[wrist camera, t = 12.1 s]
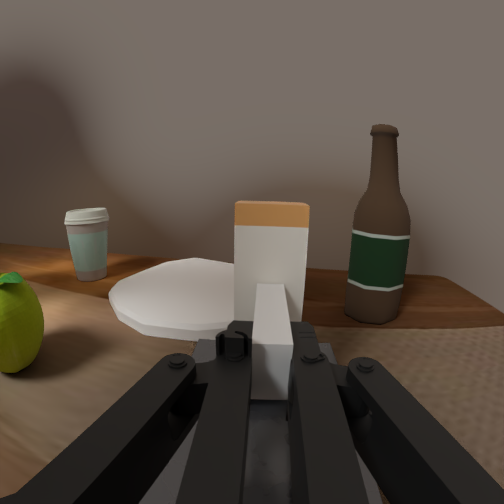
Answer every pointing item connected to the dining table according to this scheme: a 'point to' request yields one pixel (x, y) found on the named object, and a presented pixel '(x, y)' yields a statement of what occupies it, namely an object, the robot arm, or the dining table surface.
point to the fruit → (18, 323)
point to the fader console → (252, 451)
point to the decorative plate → (177, 299)
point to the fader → (269, 253)
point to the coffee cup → (88, 242)
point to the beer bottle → (379, 237)
